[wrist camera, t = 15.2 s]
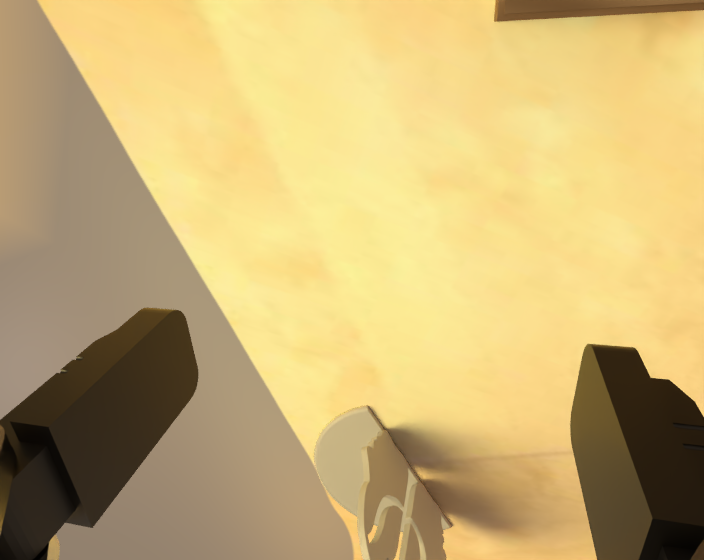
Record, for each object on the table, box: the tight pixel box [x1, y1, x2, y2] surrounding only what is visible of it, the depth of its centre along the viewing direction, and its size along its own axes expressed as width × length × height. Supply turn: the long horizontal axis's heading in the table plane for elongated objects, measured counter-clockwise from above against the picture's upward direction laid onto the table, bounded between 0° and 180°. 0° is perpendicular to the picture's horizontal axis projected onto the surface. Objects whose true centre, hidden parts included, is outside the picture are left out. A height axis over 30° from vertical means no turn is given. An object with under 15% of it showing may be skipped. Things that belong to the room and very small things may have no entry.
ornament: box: [314, 405, 451, 560], centre depth 57 cm, size 22×13×17 cm, turn 32°
